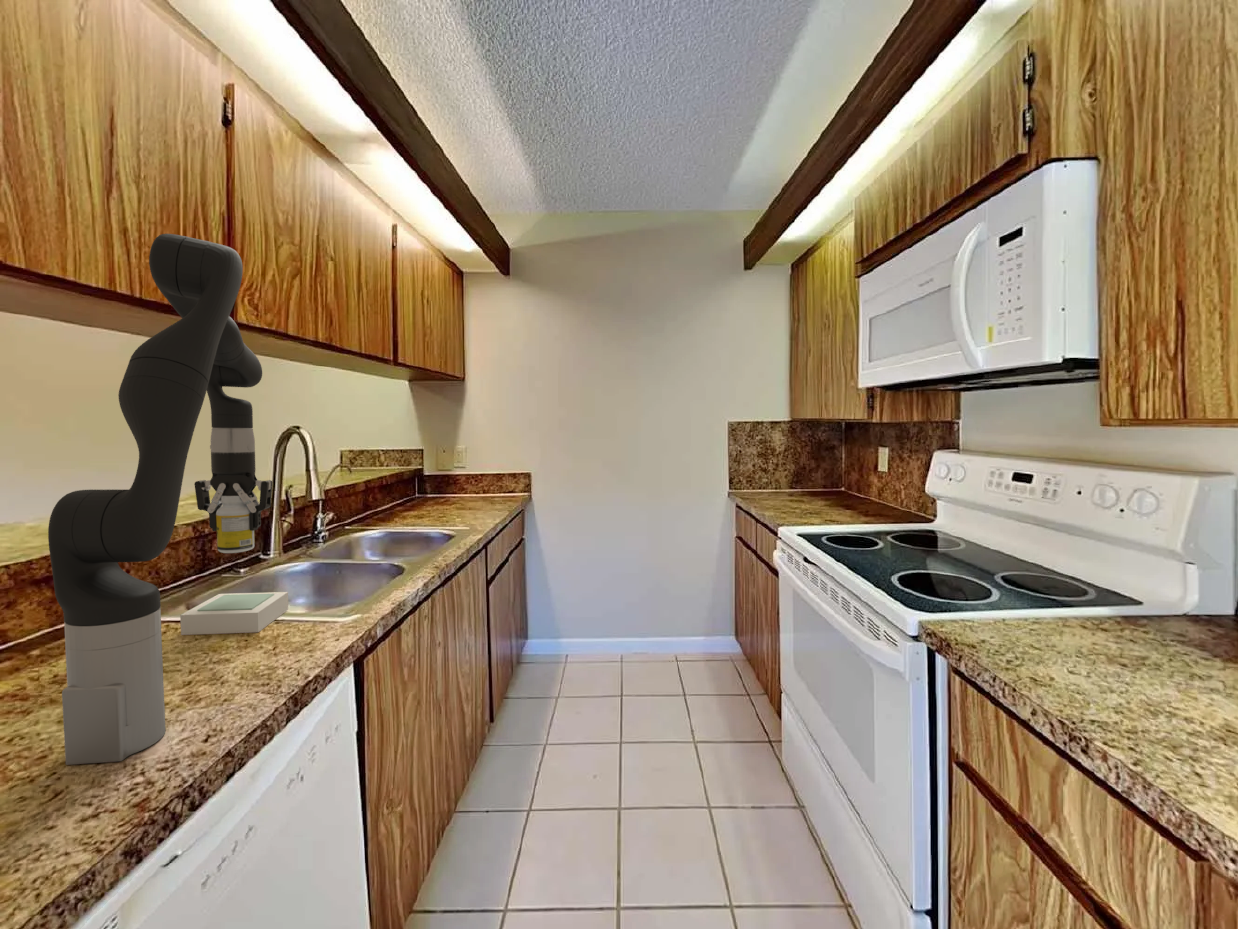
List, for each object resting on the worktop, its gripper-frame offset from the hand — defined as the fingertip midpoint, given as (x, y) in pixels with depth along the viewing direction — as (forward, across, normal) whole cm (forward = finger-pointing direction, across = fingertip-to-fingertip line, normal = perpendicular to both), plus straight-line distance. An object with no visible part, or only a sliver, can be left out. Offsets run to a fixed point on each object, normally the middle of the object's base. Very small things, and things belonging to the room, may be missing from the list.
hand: (235, 530), depth 117 cm
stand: (+19, 0, 0) cm, 19 cm away
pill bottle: (+4, 0, 0) cm, 4 cm away
